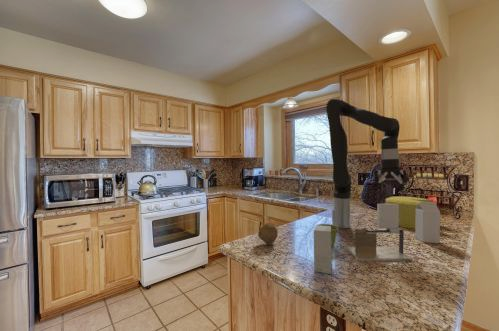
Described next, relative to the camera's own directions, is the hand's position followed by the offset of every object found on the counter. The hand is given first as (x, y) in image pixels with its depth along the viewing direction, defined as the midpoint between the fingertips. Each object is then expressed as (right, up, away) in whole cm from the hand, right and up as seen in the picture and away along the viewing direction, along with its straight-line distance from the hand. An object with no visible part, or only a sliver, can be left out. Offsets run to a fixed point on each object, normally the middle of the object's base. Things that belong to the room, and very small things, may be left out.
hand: (391, 190), depth 112 cm
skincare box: (-44, -25, -29) cm, 58 cm away
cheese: (+30, -24, +30) cm, 49 cm away
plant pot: (-34, -25, -8) cm, 43 cm away
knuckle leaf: (-13, -15, -18) cm, 27 cm away
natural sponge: (-62, -25, -7) cm, 67 cm away
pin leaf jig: (-17, -25, -18) cm, 35 cm away
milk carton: (+17, -25, -1) cm, 30 cm away
